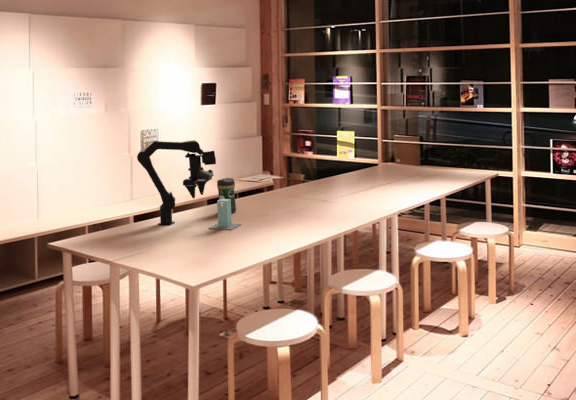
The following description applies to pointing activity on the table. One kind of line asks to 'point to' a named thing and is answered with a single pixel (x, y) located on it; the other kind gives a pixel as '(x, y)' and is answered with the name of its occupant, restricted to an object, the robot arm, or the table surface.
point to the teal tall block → (224, 212)
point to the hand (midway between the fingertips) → (197, 196)
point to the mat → (225, 227)
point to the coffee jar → (227, 191)
